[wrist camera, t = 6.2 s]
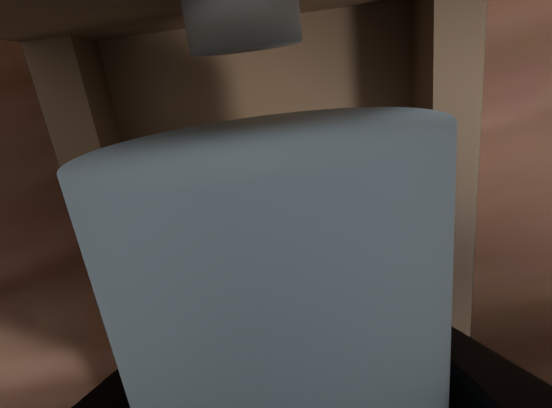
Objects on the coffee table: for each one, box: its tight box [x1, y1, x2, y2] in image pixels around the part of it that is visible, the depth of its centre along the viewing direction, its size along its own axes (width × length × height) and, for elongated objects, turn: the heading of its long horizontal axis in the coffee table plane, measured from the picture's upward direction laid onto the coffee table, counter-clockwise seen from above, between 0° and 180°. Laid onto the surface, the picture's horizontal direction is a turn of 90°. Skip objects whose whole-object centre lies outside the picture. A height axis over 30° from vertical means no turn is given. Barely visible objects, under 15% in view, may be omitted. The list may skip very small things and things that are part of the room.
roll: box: [57, 107, 457, 408], centre depth 7 cm, size 9×5×5 cm, turn 7°
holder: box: [0, 0, 487, 337], centre depth 9 cm, size 15×9×5 cm, turn 7°
